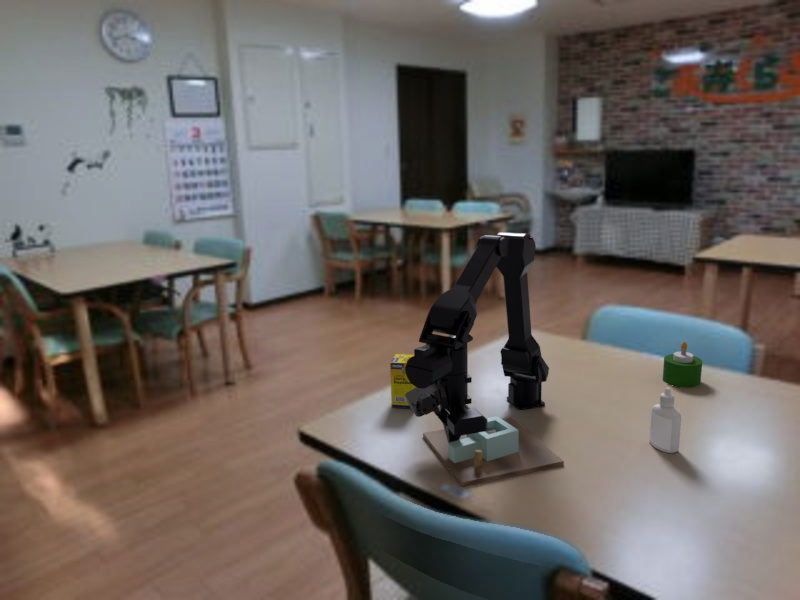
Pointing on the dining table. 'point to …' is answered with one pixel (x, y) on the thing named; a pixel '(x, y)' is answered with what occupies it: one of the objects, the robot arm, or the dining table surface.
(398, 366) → the supplement box
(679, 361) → the candle
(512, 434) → the collar
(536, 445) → the board
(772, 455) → the dining table surface
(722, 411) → the dining table surface
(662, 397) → the eye dropper bottle
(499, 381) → the dining table surface
